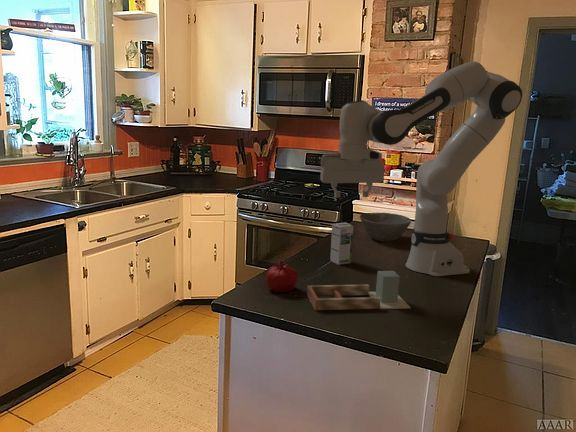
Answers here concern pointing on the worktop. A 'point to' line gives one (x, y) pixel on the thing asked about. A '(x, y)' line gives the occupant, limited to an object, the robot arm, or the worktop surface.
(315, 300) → the box
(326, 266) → the worktop surface
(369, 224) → the ceramic bowl
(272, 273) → the pomegranate
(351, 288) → the wooden divided tray
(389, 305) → the pad
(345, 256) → the syrup box
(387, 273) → the grey-green block
